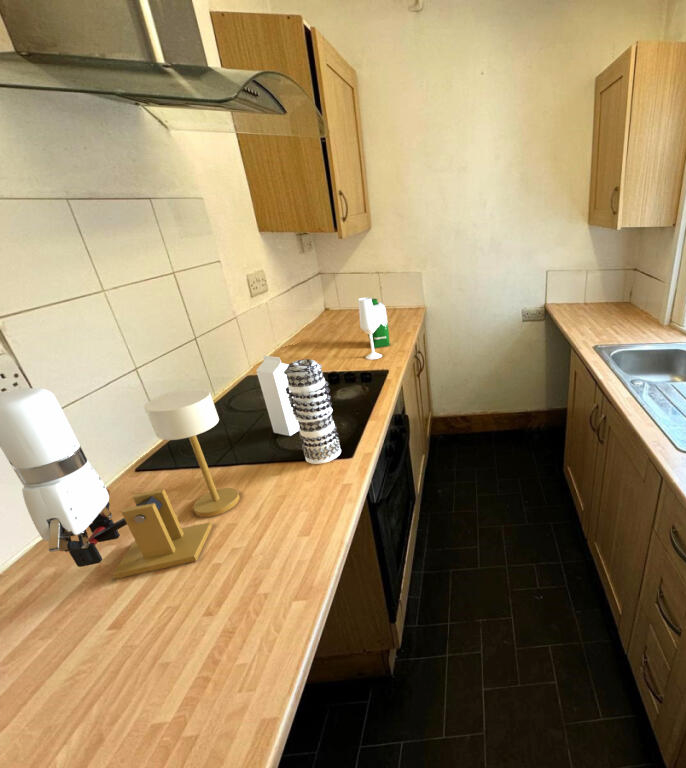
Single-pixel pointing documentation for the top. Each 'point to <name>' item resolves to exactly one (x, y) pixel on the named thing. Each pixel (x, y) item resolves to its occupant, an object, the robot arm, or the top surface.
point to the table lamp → (191, 438)
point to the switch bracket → (159, 537)
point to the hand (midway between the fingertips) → (99, 550)
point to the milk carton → (380, 326)
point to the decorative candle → (312, 411)
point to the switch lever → (118, 523)
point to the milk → (277, 395)
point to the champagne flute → (368, 323)
